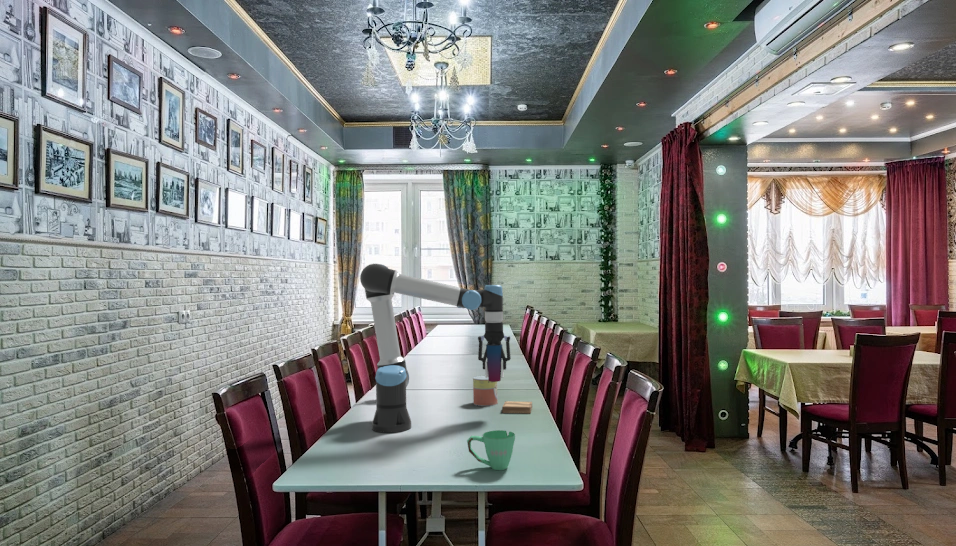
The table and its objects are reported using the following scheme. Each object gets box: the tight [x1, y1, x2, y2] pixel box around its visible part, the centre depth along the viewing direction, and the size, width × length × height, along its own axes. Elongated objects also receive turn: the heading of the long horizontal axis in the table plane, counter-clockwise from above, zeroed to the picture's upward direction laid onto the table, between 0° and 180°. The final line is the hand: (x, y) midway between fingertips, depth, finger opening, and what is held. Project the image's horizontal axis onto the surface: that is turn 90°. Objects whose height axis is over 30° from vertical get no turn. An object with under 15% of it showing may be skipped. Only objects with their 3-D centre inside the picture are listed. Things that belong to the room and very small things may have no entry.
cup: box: [485, 343, 503, 383], centre depth 244 cm, size 7×7×15 cm
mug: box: [466, 429, 516, 471], centre depth 177 cm, size 15×10×10 cm
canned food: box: [472, 375, 499, 407], centre depth 271 cm, size 11×11×12 cm
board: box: [501, 400, 533, 414], centre depth 255 cm, size 12×12×3 cm
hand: (494, 377), depth 244 cm, fingers closed on cup, 6 cm apart
